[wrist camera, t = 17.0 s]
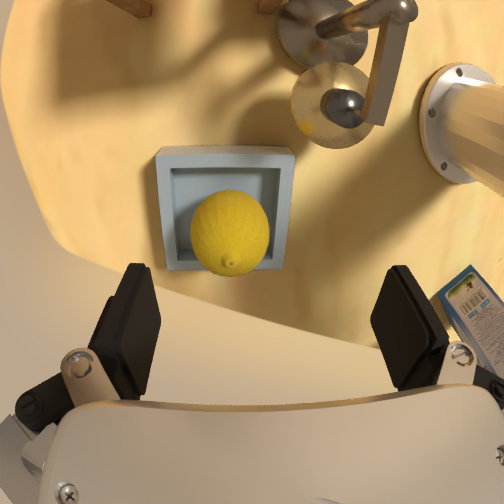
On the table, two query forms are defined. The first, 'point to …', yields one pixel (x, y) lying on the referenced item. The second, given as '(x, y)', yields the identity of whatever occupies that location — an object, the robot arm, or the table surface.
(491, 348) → the milk carton
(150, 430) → the robot arm
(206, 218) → the lemon
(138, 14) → the wooden stool
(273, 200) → the dish
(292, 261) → the table surface
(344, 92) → the balance
